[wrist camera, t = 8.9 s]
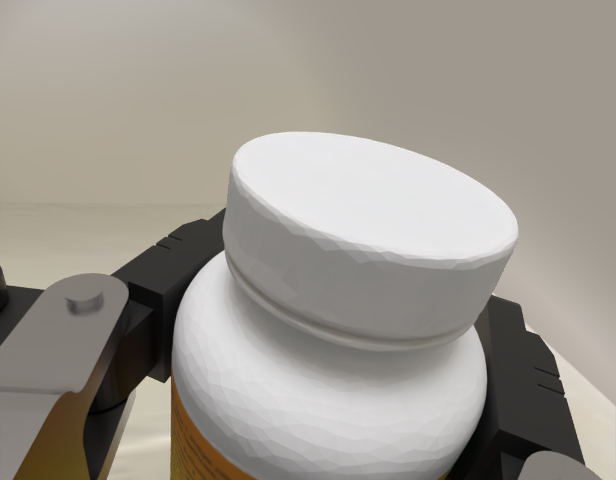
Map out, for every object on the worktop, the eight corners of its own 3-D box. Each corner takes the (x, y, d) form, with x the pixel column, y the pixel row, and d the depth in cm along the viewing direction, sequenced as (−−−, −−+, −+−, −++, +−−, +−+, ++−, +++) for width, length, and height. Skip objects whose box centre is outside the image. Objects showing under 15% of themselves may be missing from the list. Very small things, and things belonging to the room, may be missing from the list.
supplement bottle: (384, 684, 8) (716, 363, 3) (127, 635, 8) (66, 229, 3) (371, 439, 13) (500, 154, 8) (208, 407, 13) (234, 98, 8)
